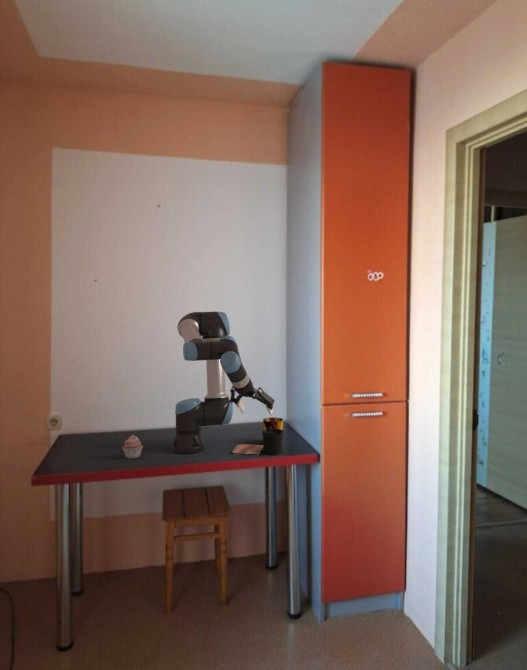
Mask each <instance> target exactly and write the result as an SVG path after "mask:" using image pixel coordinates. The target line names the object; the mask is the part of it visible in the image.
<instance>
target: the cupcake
mask: <svg viewBox="0 0 527 670" xmlns="http://www.w3.org/2000/svg"><path fill="white" fill-rule="evenodd" d="M143 447H144V445H143V444H142V442H141V441H140V439H139V438H138V437H137V436H136V435H134V434H132V435H130V436H129V437H128V439H126V440H125V441H124V445H123V446H121V448H122V450H123V452H124V456H125V458H126V459H129V460H131V459H132V460H133V459H134V458H135V459H138V458H139V457H141V454H142V450H143Z"/></svg>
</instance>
